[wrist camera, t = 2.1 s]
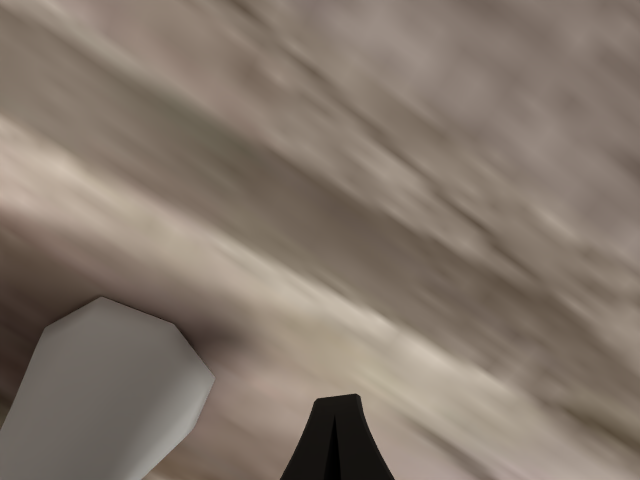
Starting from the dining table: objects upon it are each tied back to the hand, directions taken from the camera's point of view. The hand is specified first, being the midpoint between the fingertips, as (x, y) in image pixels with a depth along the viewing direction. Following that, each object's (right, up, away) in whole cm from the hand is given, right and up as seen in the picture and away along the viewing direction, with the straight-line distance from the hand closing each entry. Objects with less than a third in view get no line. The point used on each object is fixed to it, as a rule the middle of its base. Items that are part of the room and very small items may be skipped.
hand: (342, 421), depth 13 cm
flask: (-9, 0, +5) cm, 10 cm away
